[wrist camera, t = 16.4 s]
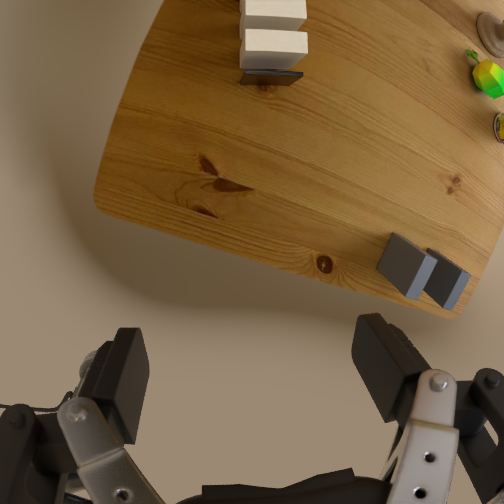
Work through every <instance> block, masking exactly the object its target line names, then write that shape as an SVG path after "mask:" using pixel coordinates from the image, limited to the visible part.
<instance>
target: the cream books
mask: <svg viewBox="0 0 504 504" xmlns="http://www.w3.org/2000/svg"><path fill="white" fill-rule="evenodd" d="M240 13H242V14H241V19H240V40H243V36H244V32H245V29H266V30H284V31H297V30H298V29H299V27H300V26H301V25H302V24H303V23H304V21H305V20H306V19H307V15H306V0H240ZM302 77H303V72H292V71H269V70H244V73H243V75H242V78H241V80H240V85H286V86H289V85H291V84H292V83H294V82H295V81H297V80H299V79H300V78H302Z"/></svg>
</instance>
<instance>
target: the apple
mask: <svg viewBox="0 0 504 504" xmlns="http://www.w3.org/2000/svg"><path fill="white" fill-rule="evenodd" d="M466 51H467V54H468V55H469V56H470V57H471V58H473V59H475V60H476V61H477V62H478V64H476V66H475V68H474V70H473V72H472V74H473V77H474V81H475V84H476V86H477V87H479V88H480V89H481V90H482V91H484V92H485V93H486V94H488V95H489V96H491V97H492V98H493V99H495V98H497V97H500V96H502V95H504V70H503V69H501V68H500V67H499V66H498V65H496V64H495V63H493V62H492V61H490V60H488V59H486V60H484V61H482V62H480V63H479V61H478V56H477V54H476V53H475V52H472V51H469V50H467V49H466Z"/></svg>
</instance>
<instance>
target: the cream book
mask: <svg viewBox="0 0 504 504" xmlns="http://www.w3.org/2000/svg"><path fill="white" fill-rule="evenodd" d="M306 54H308V47H307V32H297V31H284V30H266V29H245V32H244V36H243V40H242V44H241V48H240V68H249V69H284V70H289V69H290V68H291V67H292V66H294V65H295V64H296V63H297V62H298V61H299V60H301V59H302V58H303V57H304V56H305V55H306Z"/></svg>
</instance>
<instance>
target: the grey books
mask: <svg viewBox="0 0 504 504" xmlns="http://www.w3.org/2000/svg"><path fill="white" fill-rule="evenodd" d="M377 270H379V271H380V272H381V273H382V274H383V275H384V276H385V277H386V278H387V279H388V280H389V281H390V282H391V283H392V284H393V285H394V286H395V287H396V288H397V289H398V290H399V291H400V292H401V293H402V294H403V295H404V296H405V297H407V298H411V299H414V300H418V298H419V296H420V294H421V292H422V290H424V291H425V292H426V293H427V294H428V295H429V296H430V297H431V298H432V299H434V300H435V301H436V302H437V303H438V304H439V305H440V306H441V307H442V308H444V309H448V310H451V311H452V310H453V308H454V306H455V305H456V303H457V301H458V299H459V297H460V295H461V293H462V292H463V290H464V288H465V286H466V284H467V282H468V280H469V278H470V276H471V275H470V274H469V273H468V272H466V271H465V270H463V269H462V268H461V267H459V266H458V265H456V264H455V263H453V262H452V261H450V260H449V259H447V258H446V257H445V256H443V255H442V254H440V253H439V252H437V251H434V250H432V249H430V248H429V249H428V251H427V252H425V251H424V250H422V249H421V248H419V247H418V246H416V245H415V244H414V243H412V242H411V241H409V240H408V239H406V238H405V237H402V236H400V235H398V234H395V233H392V236H391V238H390V240H389V242H388V245H387V247H386V249H385V251H384V253H383V256H382V258H381V260H380V262H379V264H378V266H377Z"/></svg>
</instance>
